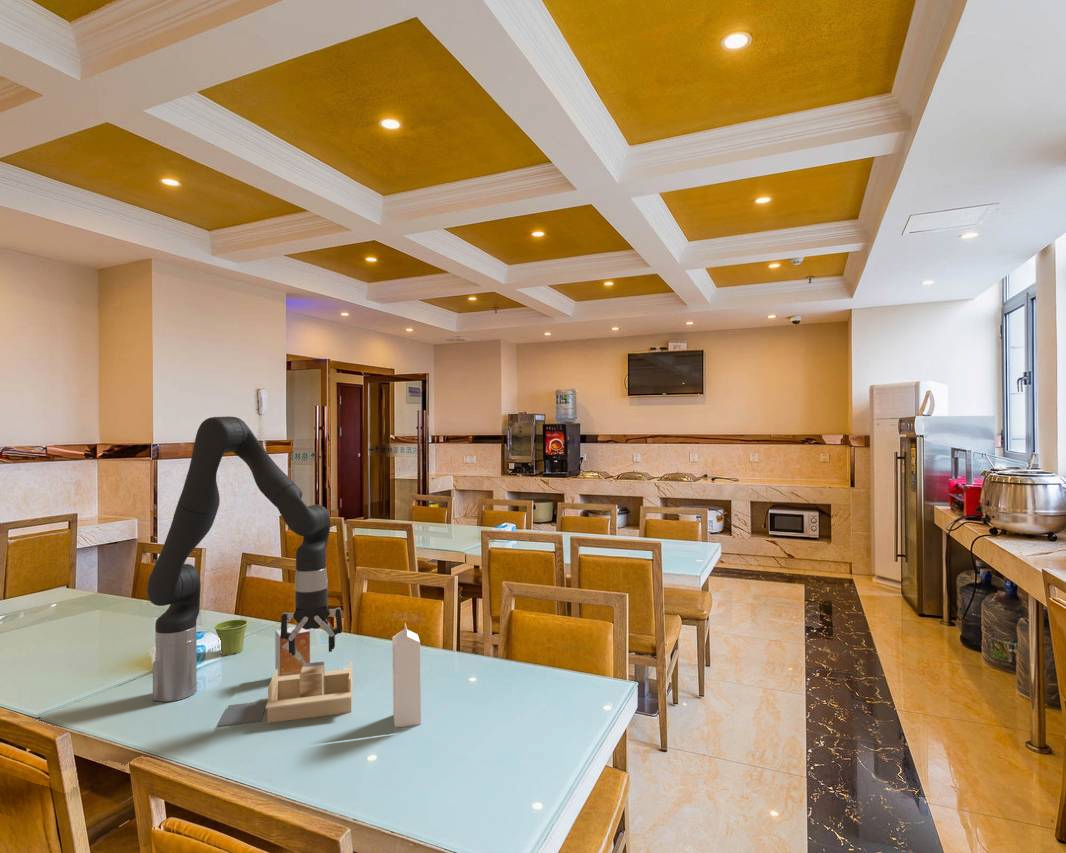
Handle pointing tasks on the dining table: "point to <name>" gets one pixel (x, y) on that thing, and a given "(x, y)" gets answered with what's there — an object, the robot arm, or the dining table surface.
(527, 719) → the dining table surface
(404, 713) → the milk
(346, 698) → the carton
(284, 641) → the small box
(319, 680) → the block
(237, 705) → the slate mat
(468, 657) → the dining table surface
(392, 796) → the dining table surface
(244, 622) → the plant pot
